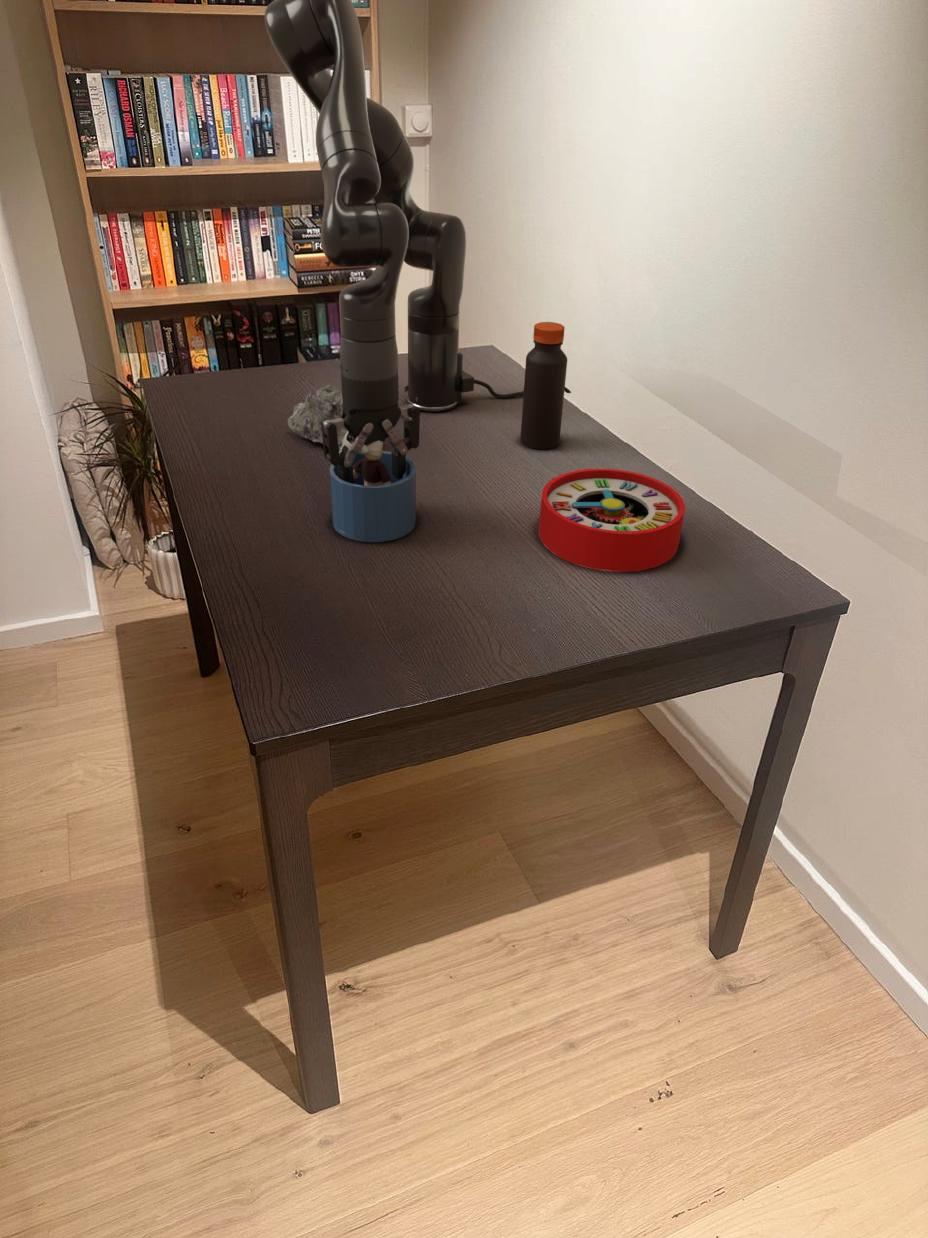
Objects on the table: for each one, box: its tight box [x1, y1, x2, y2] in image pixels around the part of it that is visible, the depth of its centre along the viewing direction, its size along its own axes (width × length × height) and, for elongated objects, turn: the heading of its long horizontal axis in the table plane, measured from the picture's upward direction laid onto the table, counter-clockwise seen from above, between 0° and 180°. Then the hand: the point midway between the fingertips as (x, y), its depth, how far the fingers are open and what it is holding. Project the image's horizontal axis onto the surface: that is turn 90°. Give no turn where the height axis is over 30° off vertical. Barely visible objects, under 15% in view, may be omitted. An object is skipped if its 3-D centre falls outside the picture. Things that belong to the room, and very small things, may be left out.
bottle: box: [519, 321, 568, 450], centre depth 152 cm, size 7×7×20 cm
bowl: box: [328, 450, 417, 543], centre depth 130 cm, size 12×12×8 cm
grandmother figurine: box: [353, 441, 391, 486], centre depth 128 cm, size 8×4×13 cm, turn 61°
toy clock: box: [538, 468, 686, 573], centre depth 129 cm, size 20×6×20 cm
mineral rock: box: [287, 384, 356, 450], centre depth 153 cm, size 13×11×10 cm
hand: (373, 482), depth 128 cm, fingers open, 7 cm apart
